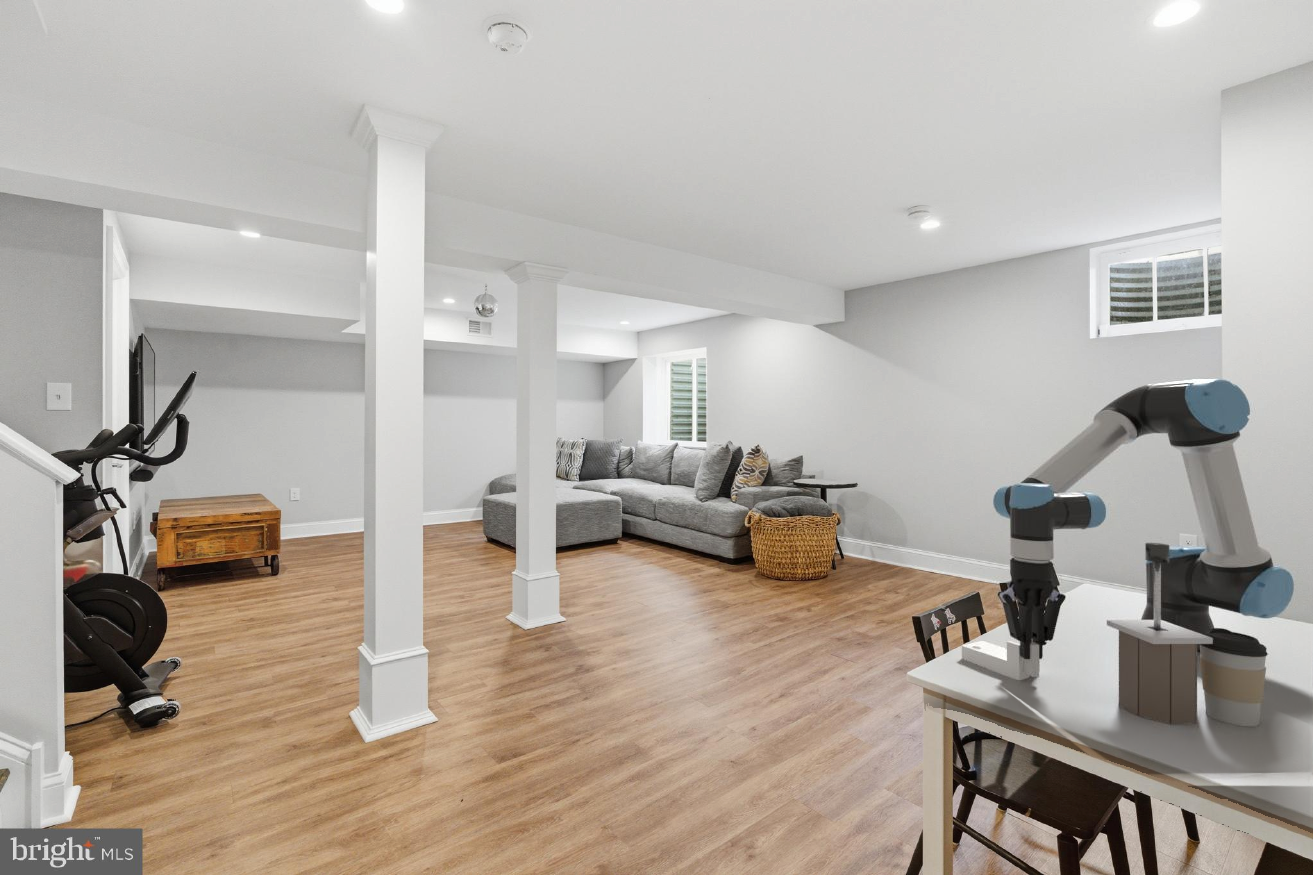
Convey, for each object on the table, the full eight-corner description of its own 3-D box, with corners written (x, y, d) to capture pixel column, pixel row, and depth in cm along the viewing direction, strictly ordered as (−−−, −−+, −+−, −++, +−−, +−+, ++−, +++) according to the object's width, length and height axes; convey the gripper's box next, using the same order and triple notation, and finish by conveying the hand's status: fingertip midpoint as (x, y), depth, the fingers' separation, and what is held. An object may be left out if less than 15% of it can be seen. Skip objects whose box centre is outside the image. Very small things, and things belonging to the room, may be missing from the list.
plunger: (1159, 642, 114) (1159, 540, 114) (1193, 656, 107) (1193, 547, 107) (1123, 642, 114) (1123, 541, 114) (1154, 656, 107) (1154, 547, 107)
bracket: (1039, 675, 127) (1039, 640, 127) (1019, 681, 124) (1018, 645, 124) (981, 656, 139) (981, 623, 139) (961, 661, 136) (961, 627, 136)
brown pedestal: (1160, 697, 116) (1160, 619, 116) (1213, 723, 105) (1213, 638, 105) (1105, 697, 116) (1105, 619, 116) (1153, 724, 105) (1153, 638, 105)
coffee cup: (1282, 731, 102) (1282, 643, 102) (1220, 726, 104) (1220, 640, 104) (1242, 708, 111) (1242, 627, 111) (1185, 704, 113) (1185, 624, 113)
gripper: (1050, 555, 127) (1050, 667, 127) (989, 555, 127) (989, 667, 127) (1075, 562, 120) (1075, 681, 120) (1011, 563, 119) (1010, 681, 119)
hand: (1031, 674), depth 123 cm, fingers closed
